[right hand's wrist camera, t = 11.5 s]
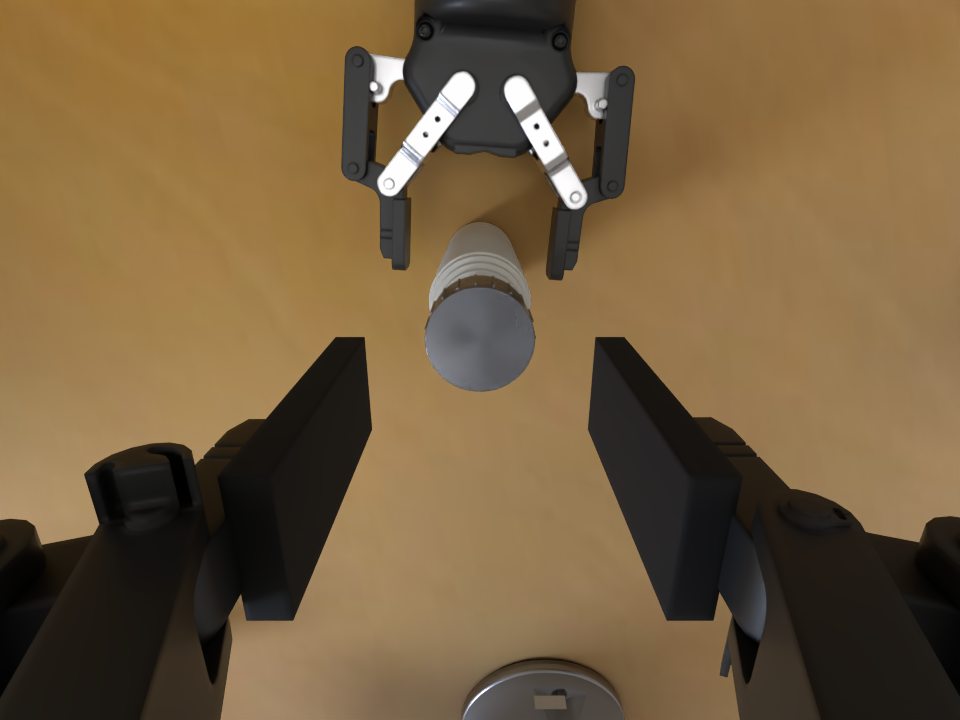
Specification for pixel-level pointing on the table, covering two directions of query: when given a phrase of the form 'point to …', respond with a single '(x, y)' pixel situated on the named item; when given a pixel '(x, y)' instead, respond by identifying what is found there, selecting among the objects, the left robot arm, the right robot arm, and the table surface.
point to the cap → (479, 334)
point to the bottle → (480, 260)
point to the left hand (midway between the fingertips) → (477, 272)
